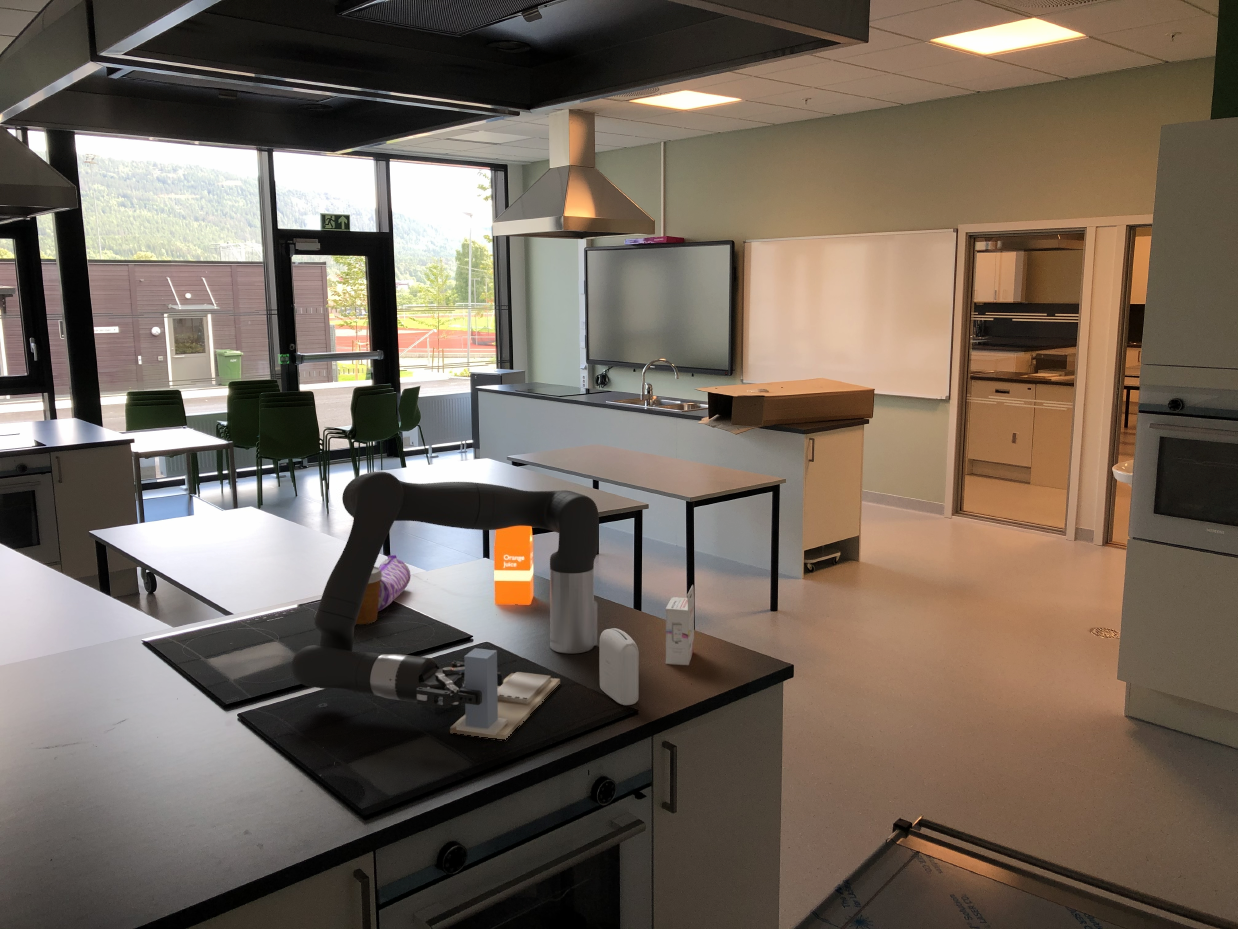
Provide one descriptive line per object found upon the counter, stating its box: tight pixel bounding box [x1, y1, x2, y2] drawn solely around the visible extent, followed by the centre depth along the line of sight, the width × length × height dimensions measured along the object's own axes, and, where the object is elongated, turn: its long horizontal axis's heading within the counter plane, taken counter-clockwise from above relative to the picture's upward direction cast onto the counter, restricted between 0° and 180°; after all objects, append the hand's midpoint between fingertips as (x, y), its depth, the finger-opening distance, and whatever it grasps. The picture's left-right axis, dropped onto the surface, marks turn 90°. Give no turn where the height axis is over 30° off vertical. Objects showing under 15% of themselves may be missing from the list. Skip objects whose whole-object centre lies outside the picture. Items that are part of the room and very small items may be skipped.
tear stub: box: [456, 647, 507, 735], centre depth 155 cm, size 5×7×13 cm
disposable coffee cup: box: [356, 565, 383, 625], centre depth 214 cm, size 10×10×12 cm
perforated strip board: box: [449, 671, 561, 741], centre depth 167 cm, size 26×10×2 cm, turn 163°
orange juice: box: [493, 526, 534, 606], centre depth 231 cm, size 8×9×20 cm
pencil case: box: [378, 554, 411, 612], centre depth 231 cm, size 22×9×10 cm, turn 0°
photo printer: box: [598, 628, 640, 706], centre depth 171 cm, size 10×4×12 cm, turn 26°
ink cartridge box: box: [665, 584, 695, 666], centre depth 191 cm, size 9×5×15 cm, turn 168°
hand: (492, 688), depth 154 cm, fingers open, 8 cm apart
